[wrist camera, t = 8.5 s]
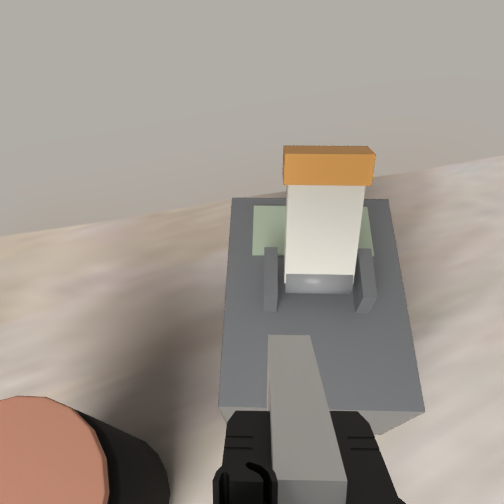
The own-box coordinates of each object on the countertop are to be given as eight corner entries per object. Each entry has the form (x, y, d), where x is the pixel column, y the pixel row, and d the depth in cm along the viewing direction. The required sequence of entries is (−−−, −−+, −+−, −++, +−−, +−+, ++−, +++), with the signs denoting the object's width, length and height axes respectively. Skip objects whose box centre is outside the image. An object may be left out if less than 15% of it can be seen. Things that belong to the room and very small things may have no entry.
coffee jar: (103, 413, 40) (1, 359, 24) (196, 475, 37) (148, 460, 21) (21, 529, 35) (-170, 555, 19) (120, 610, 32) (-12, 718, 17)
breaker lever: (279, 299, 30) (284, 153, 26) (279, 282, 33) (283, 145, 28) (356, 300, 30) (375, 154, 25) (350, 283, 32) (367, 146, 28)
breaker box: (229, 430, 39) (213, 397, 26) (238, 262, 48) (229, 175, 35) (380, 434, 38) (442, 403, 25) (360, 264, 47) (397, 177, 34)
